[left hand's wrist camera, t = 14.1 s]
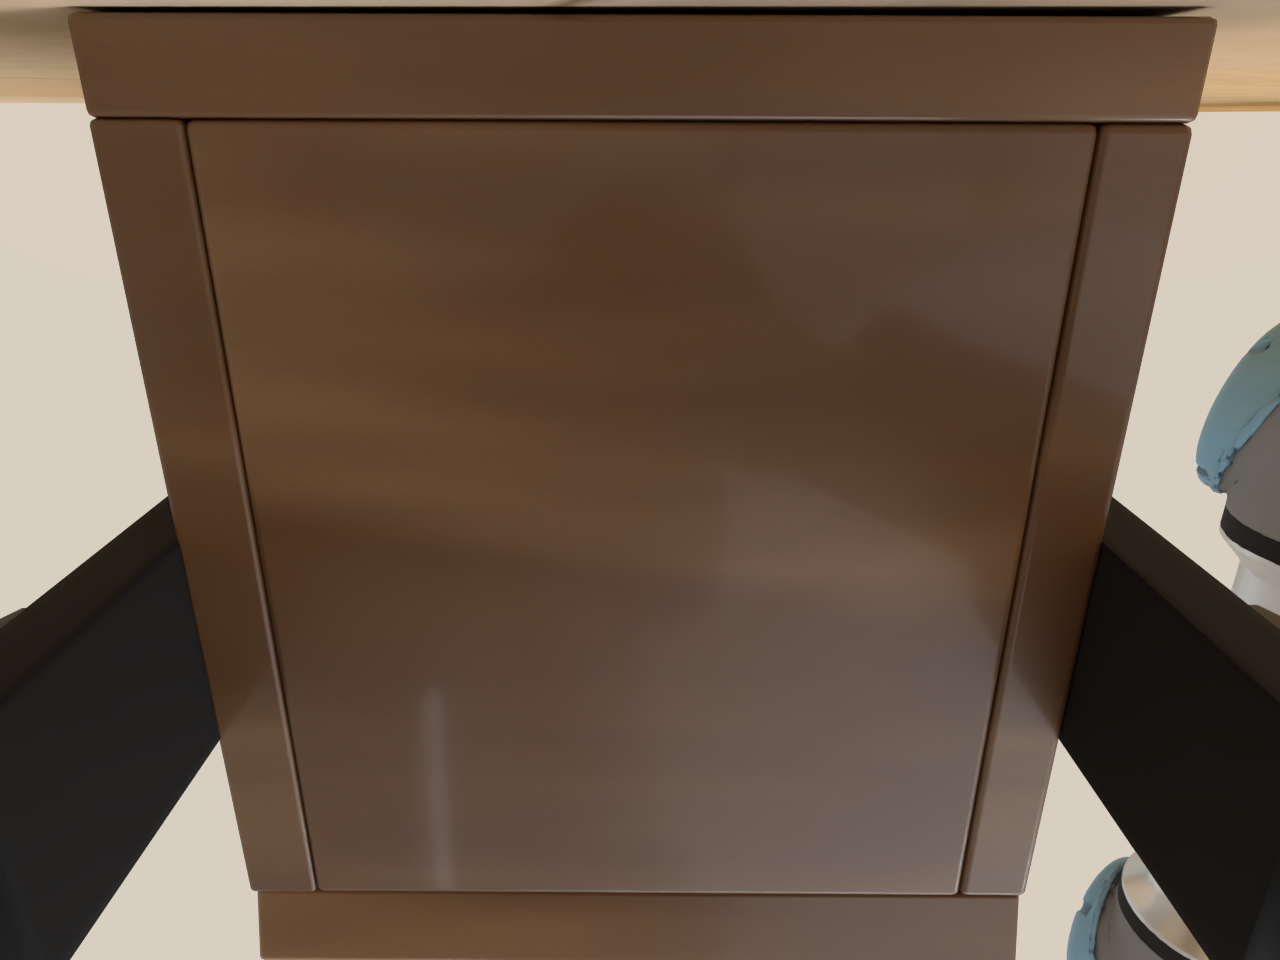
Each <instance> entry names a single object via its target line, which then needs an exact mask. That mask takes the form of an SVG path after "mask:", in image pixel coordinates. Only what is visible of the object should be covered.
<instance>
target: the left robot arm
mask: <svg viewBox="0 0 1280 960" xmlns="http://www.w3.org/2000/svg"><path fill="white" fill-rule="evenodd" d="M219 740H220V735H219V731H218V726H217V721H216V717H215V712H214V707H213V703H212V698H211V693H210V689H209V684H208V679H207V675H206V670H205V665H204V661H203V656H202V651H201V647H200V642H199V637H198V633H197V628H196V623H195V619H194V614H193V609H192V605H191V600H190V596H189V591H188V586H187V582H186V577H185V572H184V568H183V563H182V558H181V554H180V549H179V544H178V540H177V536H176V531H175V526H174V521H173V517H172V512H171V507H170V502H169V498H168V496H167V497H166V498H165V499H164V500H162V501H161V502H160V503H159V504H157V505H156V506H155V507H153V508H152V509H151V510H150V511H148V512H147V513H146V514H145V515H143V516H142V517H141V518H140V519H138V520H137V521H136V522H135V523H133V524H132V525H131V526H129V527H128V528H127V529H126V530H124V531H123V532H122V533H121V534H119V535H118V536H117V537H116V538H114V539H113V540H112V541H111V542H109V543H108V544H107V545H105V546H104V547H103V548H102V549H100V550H99V551H98V552H97V553H95V554H94V555H93V556H92V557H90V558H89V559H88V560H86V561H85V562H84V563H83V564H81V565H80V566H79V567H78V568H76V569H75V570H74V571H73V572H71V573H70V574H69V575H68V576H66V577H65V578H64V579H62V580H61V581H60V582H59V583H57V584H56V585H55V586H54V587H52V588H51V589H50V590H49V591H47V592H46V593H45V594H44V595H42V596H41V597H40V598H38V599H37V600H36V601H35V602H33V603H32V604H31V605H30V606H28V607H27V608H22V609H20V610H17V611H15V612H13V613H11V614H9V615H7V616H5V617H3V618H1V619H0V960H70V959H71V957H72V956H73V955H74V953H75V952H76V950H77V949H78V947H79V946H80V944H81V943H82V941H83V940H84V938H85V937H86V935H87V934H88V932H89V931H90V930H91V928H92V927H93V925H94V924H95V922H96V921H97V919H98V918H99V916H100V915H101V913H102V912H103V910H104V909H105V907H106V906H107V905H108V903H109V902H110V900H111V899H112V897H113V896H114V894H115V893H116V891H117V890H118V888H119V887H120V885H121V884H122V882H123V881H124V879H125V878H126V877H127V875H128V874H129V872H130V871H131V869H132V868H133V866H134V865H135V863H136V862H137V860H138V859H139V858H140V856H141V855H142V853H143V852H144V850H145V849H146V847H147V846H148V844H149V843H150V841H151V840H152V838H153V837H154V835H155V834H156V833H157V831H158V830H159V828H160V827H161V825H162V824H163V822H164V821H165V819H166V818H167V816H168V815H169V813H170V812H171V810H172V809H173V808H174V806H175V805H176V803H177V802H178V800H179V799H180V797H181V796H182V794H183V793H184V791H185V790H186V788H187V787H188V785H189V784H190V783H191V781H192V780H193V778H194V777H195V775H196V774H197V772H198V771H199V769H200V768H201V766H202V765H203V763H204V762H205V760H206V759H207V757H208V756H209V755H210V753H211V752H212V750H213V749H214V747H215V746H216V744H217V743H218V741H219ZM1059 740H1060V741H1061V743H1062V744H1063V746H1064V747H1065V748H1066V750H1067V751H1068V753H1069V754H1070V756H1071V757H1072V759H1073V760H1074V762H1075V763H1076V765H1077V766H1078V768H1079V769H1080V771H1081V772H1082V774H1083V775H1084V776H1085V778H1086V779H1087V781H1088V782H1089V784H1090V785H1091V787H1092V788H1093V790H1094V791H1095V793H1096V794H1097V796H1098V797H1099V799H1100V800H1101V801H1102V803H1103V804H1104V806H1105V807H1106V809H1107V810H1108V812H1109V813H1110V815H1111V816H1112V818H1113V819H1114V821H1115V822H1116V824H1117V825H1118V826H1119V828H1120V829H1121V831H1122V832H1123V834H1124V835H1125V837H1126V838H1127V840H1128V841H1129V843H1130V844H1131V846H1132V847H1133V848H1134V850H1135V851H1136V853H1137V854H1138V856H1139V857H1140V859H1141V860H1142V862H1143V863H1144V865H1145V866H1146V868H1147V869H1148V871H1149V872H1150V874H1151V875H1152V876H1153V878H1154V879H1155V881H1156V882H1157V884H1158V885H1159V887H1160V888H1161V890H1162V891H1163V893H1164V894H1165V896H1166V897H1167V899H1168V900H1169V901H1170V903H1171V904H1172V906H1173V907H1174V909H1175V910H1176V912H1177V913H1178V915H1179V916H1180V918H1181V919H1182V921H1183V922H1184V924H1185V925H1186V926H1187V928H1188V929H1189V931H1190V932H1191V934H1192V935H1193V937H1194V938H1195V940H1196V941H1197V943H1198V944H1199V946H1200V947H1201V949H1202V950H1203V951H1204V953H1205V954H1206V956H1207V957H1208V959H1209V960H1280V615H1278V614H1275V613H1273V612H1271V611H1269V610H1267V609H1265V608H1263V607H1261V606H1259V605H1248V604H1247V603H1246V602H1244V601H1243V600H1242V599H1241V598H1239V597H1238V596H1237V595H1236V594H1234V593H1233V592H1232V591H1231V590H1229V589H1228V588H1227V587H1225V586H1224V585H1223V584H1222V583H1220V582H1219V581H1218V580H1217V579H1215V578H1214V577H1213V576H1212V575H1210V574H1209V573H1208V572H1206V571H1205V570H1204V569H1203V568H1201V567H1200V566H1199V565H1197V564H1196V563H1195V562H1194V561H1193V560H1191V559H1190V558H1189V557H1187V556H1186V555H1185V554H1184V553H1182V552H1181V551H1180V550H1179V549H1177V548H1176V547H1175V546H1174V545H1172V544H1171V543H1170V542H1169V541H1167V540H1166V539H1165V538H1163V537H1162V536H1161V535H1160V534H1158V533H1157V532H1156V531H1155V530H1153V529H1152V528H1151V527H1150V526H1148V525H1147V524H1146V523H1145V522H1143V521H1142V520H1141V519H1140V518H1138V517H1137V516H1136V515H1134V514H1133V513H1132V512H1131V511H1129V510H1128V509H1127V508H1126V507H1124V506H1123V505H1122V504H1121V503H1119V502H1118V501H1117V500H1116V499H1114V498H1113V497H1112V498H1111V502H1110V507H1109V511H1108V516H1107V521H1106V525H1105V530H1104V534H1103V539H1102V543H1101V548H1100V552H1099V557H1098V561H1097V566H1096V570H1095V575H1094V580H1093V584H1092V589H1091V593H1090V598H1089V602H1088V607H1087V611H1086V616H1085V620H1084V625H1083V629H1082V634H1081V638H1080V643H1079V648H1078V652H1077V657H1076V661H1075V666H1074V670H1073V675H1072V679H1071V684H1070V688H1069V693H1068V697H1067V702H1066V706H1065V711H1064V716H1063V720H1062V725H1061V729H1060V734H1059Z"/></svg>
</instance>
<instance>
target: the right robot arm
mask: <svg viewBox="0 0 1280 960" xmlns="http://www.w3.org/2000/svg"><path fill="white" fill-rule="evenodd" d="M1196 463H1197V464H1198V467H1197V473H1198V477H1199V479H1200V480H1201V481H1202V482H1203V483H1204V484H1205V485H1207V486H1209V487H1210V488H1211V489H1212V490H1213V491H1214V492H1217V493H1227V501H1226V505H1225V509H1224V512H1223V516H1222V519H1221V523H1220V528H1219V529H1220V533H1221V535H1222V537H1223V538H1224V539H1225V541H1226V542H1227V543H1228V545H1229V546H1230V547H1231V548H1232V549H1233V551H1234V552H1235V553H1236V555H1237V556H1238V557H1239V559H1240V563H1239V566H1238V570H1237V573H1236V576H1235V580H1234V583H1233V586H1232V590H1231V591H1232V592H1233V593H1234V594H1236V595H1237V596H1238V597H1239V598H1241V599H1242V600H1243V601H1244V602H1246V603H1247V604H1248V605H1259V606H1261V607H1263V608H1265V609H1267V610H1269V611H1271V612H1273V613H1275V614H1278V615H1280V323H1279V324H1278V325H1276V326H1275V327H1273V328H1272V329H1271V330H1270V331H1268V332H1267V333H1266V334H1265V335H1264V336H1263V337H1261V338H1260V339H1259V340H1258V341H1257V342H1256V343H1255V344H1254V346H1253V347H1252V348H1251V349H1250V350H1249V352H1248V353H1247V354H1246V355H1245V356H1244V357H1243V358H1242V359H1241V361H1240V362H1239V363H1238V364H1237V366H1236V367H1235V369H1234V370H1233V371H1232V373H1231V374H1230V376H1229V377H1228V379H1227V381H1226V382H1225V384H1224V385H1223V387H1222V388H1221V390H1220V392H1219V394H1218V396H1217V398H1216V399H1215V401H1214V403H1213V405H1212V407H1211V409H1210V412H1209V414H1208V416H1207V419H1206V421H1205V424H1204V426H1203V429H1202V432H1201V435H1200V438H1199V442H1198V446H1197V453H1196ZM1083 900H1084V903H1083V906H1082V908H1081V910H1079V911H1077V912H1076V915H1075V918H1074V920H1073V924H1072V927H1071V931H1070V935H1069V940H1068V947H1067V960H1209V959H1208V957H1207V956H1206V954H1205V953H1204V951H1203V950H1202V949H1201V947H1200V946H1199V944H1198V943H1197V941H1196V940H1195V938H1194V937H1193V935H1192V934H1191V932H1190V931H1189V929H1188V928H1187V926H1186V925H1185V924H1184V922H1183V921H1182V919H1181V918H1180V916H1179V915H1178V913H1177V912H1176V910H1175V909H1174V907H1173V906H1172V904H1171V903H1170V901H1169V900H1168V899H1167V897H1166V896H1165V894H1164V893H1163V891H1162V890H1161V888H1160V887H1159V885H1158V884H1157V882H1156V881H1155V879H1154V878H1153V876H1152V875H1151V874H1150V872H1149V871H1148V869H1147V868H1146V866H1145V865H1144V863H1143V862H1142V860H1141V859H1140V857H1139V856H1138V854H1137V853H1136V852H1135V853H1133V854H1132V855H1131V856H1130V857H1123V858H1119V859H1117V860H1115V861H1113V862H1112V863H1110V864H1109V865H1107V866H1106V867H1105V868H1104V869H1103V870H1102V871H1101V872H1100V873H1099V874H1098V875H1097V877H1096V878H1095V879H1094V881H1093V882H1092V884H1091V885H1090V887H1089V888H1088V890H1087V892H1086V894H1085V896H1084V898H1083Z"/></svg>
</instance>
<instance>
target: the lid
mask: <svg viewBox="0 0 1280 960" xmlns="http://www.w3.org/2000/svg"><path fill="white" fill-rule="evenodd" d="M1018 899H1019V898H1018V895H966V894H963V893H962V892H961V891H960V890H959V888H958V892H957V893H956V894H953V895H902V894H760V893H617V892H475V891H333V890H321V889H320V888H319V887H318V886H317V888H316V889H315V890H314V891H258V911H259V934H260V956H261V958H262V959H265V960H1015V954H1016V936H1017V917H1018Z"/></svg>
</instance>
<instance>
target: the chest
mask: <svg viewBox="0 0 1280 960" xmlns="http://www.w3.org/2000/svg"><path fill="white" fill-rule="evenodd" d="M68 23H69V27H70V32H71V37H72V42H73V46H74V51H75V56H76V61H77V65H78V70H79V75H80V80H81V84H82V89H83V94H84V99H85V103H86V108H87V111H88V113H89V115H91V116H93V117H96V119H94V120H92V121H91V122H90V128H91V133H92V137H93V142H94V147H95V152H96V157H97V161H98V166H99V171H100V175H101V180H102V185H103V190H104V194H105V199H106V204H107V209H108V213H109V218H110V223H111V228H112V232H113V237H114V242H115V246H116V251H117V256H118V261H119V265H120V270H121V275H122V280H123V284H124V289H125V294H126V298H127V303H128V308H129V313H130V318H131V322H132V327H133V332H134V337H135V341H136V346H137V351H138V355H139V360H140V365H141V370H142V374H143V379H144V384H145V389H146V393H147V398H148V403H149V408H150V412H151V417H152V422H153V427H154V431H155V436H156V441H157V445H158V450H159V455H160V460H161V464H162V469H163V474H164V479H165V483H166V488H167V493H168V498H169V502H170V507H171V512H172V517H173V521H174V526H175V531H176V536H177V540H178V544H179V549H180V554H181V558H182V563H183V568H184V572H185V577H186V582H187V586H188V591H189V596H190V600H191V605H192V609H193V614H194V619H195V623H196V628H197V633H198V637H199V642H200V647H201V651H202V656H203V661H204V665H205V670H206V675H207V679H208V684H209V689H210V693H211V698H212V703H213V707H214V712H215V717H216V721H217V726H218V731H219V735H220V744H221V749H222V753H223V758H224V763H225V768H226V772H227V777H228V782H229V786H230V791H231V796H232V801H233V806H234V810H235V815H236V820H237V824H238V829H239V834H240V839H241V843H242V848H243V853H244V858H245V862H246V867H247V872H248V876H249V881H250V886H251V889H252V890H254V891H314V890H315V889H316V888H317V886H318V887H319V888H320V889H321V890H333V891H475V892H617V893H760V894H902V895H953V894H956V893H957V892H958V888H959V890H960V891H961V892H962V893H963V894H966V895H1021V894H1023V893H1024V892H1025V888H1026V883H1027V879H1028V874H1029V870H1030V865H1031V861H1032V856H1033V851H1034V847H1035V843H1036V838H1037V833H1038V829H1039V824H1040V820H1041V815H1042V811H1043V806H1044V802H1045V797H1046V793H1047V788H1048V784H1049V779H1050V775H1051V770H1052V765H1053V761H1054V756H1055V752H1056V747H1057V743H1058V738H1059V734H1060V729H1061V725H1062V720H1063V716H1064V711H1065V706H1066V702H1067V697H1068V693H1069V688H1070V684H1071V679H1072V675H1073V670H1074V666H1075V661H1076V657H1077V652H1078V648H1079V643H1080V638H1081V634H1082V629H1083V625H1084V620H1085V616H1086V611H1087V607H1088V602H1089V598H1090V593H1091V589H1092V584H1093V580H1094V575H1095V570H1096V566H1097V561H1098V557H1099V552H1100V548H1101V543H1102V539H1103V534H1104V530H1105V525H1106V521H1107V516H1108V511H1109V507H1110V502H1111V498H1112V493H1113V489H1114V484H1115V480H1116V475H1117V471H1118V466H1119V462H1120V457H1121V452H1122V448H1123V443H1124V439H1125V434H1126V430H1127V425H1128V421H1129V416H1130V412H1131V407H1132V403H1133V398H1134V393H1135V389H1136V385H1137V380H1138V375H1139V371H1140V366H1141V362H1142V357H1143V353H1144V348H1145V344H1146V339H1147V334H1148V330H1149V326H1150V321H1151V316H1152V312H1153V307H1154V303H1155V298H1156V294H1157V289H1158V285H1159V280H1160V276H1161V271H1162V267H1163V262H1164V257H1165V253H1166V248H1167V244H1168V239H1169V235H1170V230H1171V226H1172V221H1173V217H1174V212H1175V208H1176V203H1177V199H1178V194H1179V190H1180V185H1181V180H1182V176H1183V171H1184V167H1185V162H1186V158H1187V153H1188V149H1189V144H1190V140H1191V135H1192V134H1191V128H1190V127H1189V126H1187V125H1185V124H1183V123H1189V122H1191V121H1193V120H1195V118H1196V116H1197V114H1198V109H1199V105H1200V100H1201V96H1202V91H1203V87H1204V82H1205V78H1206V73H1207V69H1208V64H1209V60H1210V55H1211V51H1212V46H1213V42H1214V37H1215V33H1216V28H1217V20H1215V19H1213V18H1211V17H1153V16H922V15H692V14H461V13H231V12H74V13H72V14H70V15H68Z"/></svg>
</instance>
